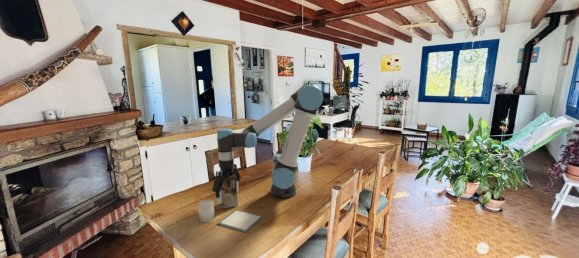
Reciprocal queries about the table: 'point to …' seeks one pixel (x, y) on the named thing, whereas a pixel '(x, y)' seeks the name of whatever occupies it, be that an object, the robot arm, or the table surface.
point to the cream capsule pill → (206, 211)
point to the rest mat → (240, 220)
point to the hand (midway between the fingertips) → (228, 197)
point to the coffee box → (229, 192)
